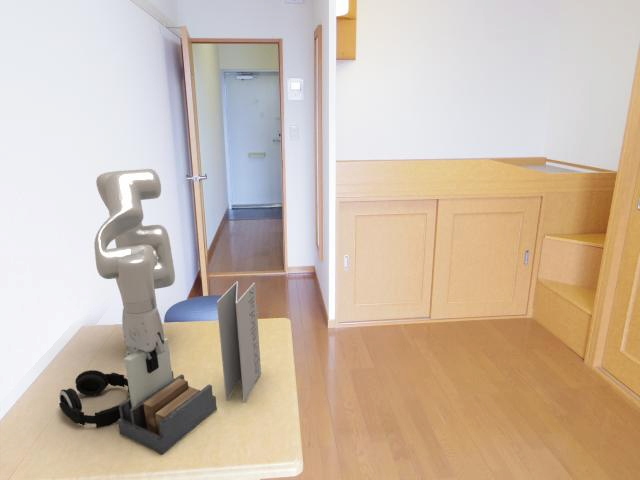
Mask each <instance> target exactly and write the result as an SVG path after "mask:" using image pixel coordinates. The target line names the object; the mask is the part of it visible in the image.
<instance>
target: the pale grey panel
mask: <svg viewBox="0 0 640 480" xmlns="http://www.w3.org/2000/svg"><path fill="white" fill-rule="evenodd" d="M163 346H164V349H165V352H163V353H161V354H159V355H157V358H158V365H159V368H158V369H156V370H155V371H153V372H151V373H148V372H147V365H146V359H147V354H146V351H143V350H138V351H137V352H135V353H133V354H131V355H129V356H128V357H126V356H125V357H124V358H123V361H124V366H125V372H126V379H127V380H128V386H129V392H130V399H131V405H132V408H133V407H134V406H136V405H137V404H139V403H140V402H142V401H143V400H145V399H146V398H147V397H149V396H150V395H152V394H153V393H155V392H156V391H158V390H159V389H161V388H162V387H163V386H165V385H166V384H168V383H169V382H171V381H172V380H173V377H172V371H173V369H172V362H171V361H172V360H171V355H170V354H171V353H170V346H169V339H168V337H164V344H163ZM152 351H153V350H152ZM152 351H151V352H152Z"/></svg>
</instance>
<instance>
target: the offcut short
mask: <svg viewBox="0 0 640 480" xmlns="http://www.w3.org/2000/svg"><path fill="white" fill-rule="evenodd" d="M190 387H191V388H189V389H188V390H187V391H185V392H184V393H183V394H181V395H180V396H178V397H177V398H176V399H174V400H173V401H172V402H170V403H169V404H168V405H166V406H165V407H164V408H162V409H161V410H159V411H158V412H157V413H156V420H157V427H158V434H159V436H161V434H160V428H159V422H160V421H161V420H163V419H164V418H165V417H167V416H168V415H169V414H171V413H172V412H173V411H174V410H176V409H177V408H178V407H180V406H181V405H182V404H184V403H185V402H186V401H188V400H189V399H190V398H192V397H193V396H194V395H195V394H197V393H198V392H199V391H201V390H200V389H197V388H195V387H192V386H190ZM194 388H195V389H194Z"/></svg>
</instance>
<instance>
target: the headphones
mask: <svg viewBox="0 0 640 480" xmlns="http://www.w3.org/2000/svg"><path fill="white" fill-rule="evenodd" d="M74 382H75V389H76V390H77V391H76V390H75V389H74V388H71V387H70V388H68V389H60V392H59V401H60V402H59V408H60V410H61V412H62V413H63V414H64V415H65V416H66V417H68V418H69V420H71V422H73V423H74V424H76V425H80V426H86V424H90V425H91V424H92V425H95V427H96V428H104V427H107V426H111V425H114V424H118V421H117V420H119V419H120V418H121V416H120V411H119V405H118V404H116V405H115V406H112V407H110V408H107V409H103V410H100V411H98V412H94V415H89V414H85V411H82V410H83V404H82V401H81V398H80V395H79V394H78V393H80V394H81V395H83V396H87V397H92V396H97V395H100V394H102V392H103V391H105V389H107V387H108V385H110V386H112V387H117V386H118V387H121V388H125V386H126V387H127V393H128V395H127V398H126V399H128V398H129V397H130V392H129V386H128V380H127V377H125V375H124V374H119V373H117V372H110V373H104V372H102V371H99V370H93V369H91V370H89V369H88V370H85V371H82V372H81V373H79V374H78V376H76V378H75V381H74Z"/></svg>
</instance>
